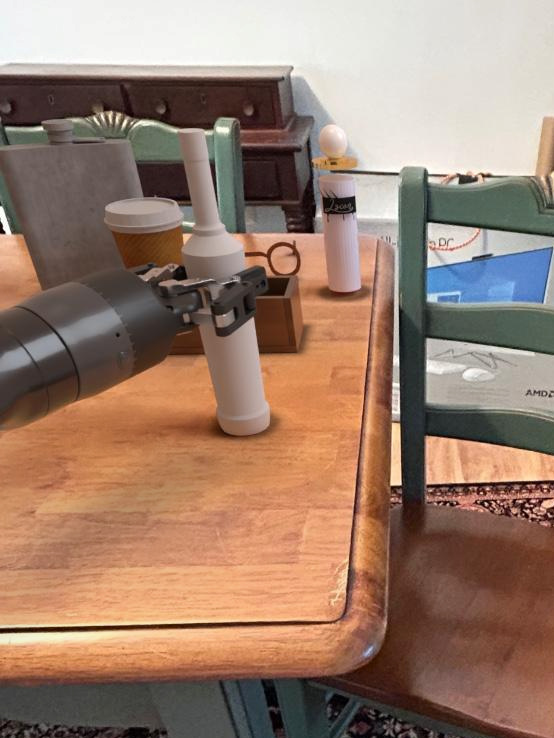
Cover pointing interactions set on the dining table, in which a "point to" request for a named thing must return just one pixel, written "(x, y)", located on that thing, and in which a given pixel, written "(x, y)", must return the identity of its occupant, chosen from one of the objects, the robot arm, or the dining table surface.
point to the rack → (264, 320)
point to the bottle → (219, 260)
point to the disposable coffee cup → (147, 231)
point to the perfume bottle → (338, 211)
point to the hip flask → (69, 199)
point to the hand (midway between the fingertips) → (237, 272)
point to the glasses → (269, 252)
